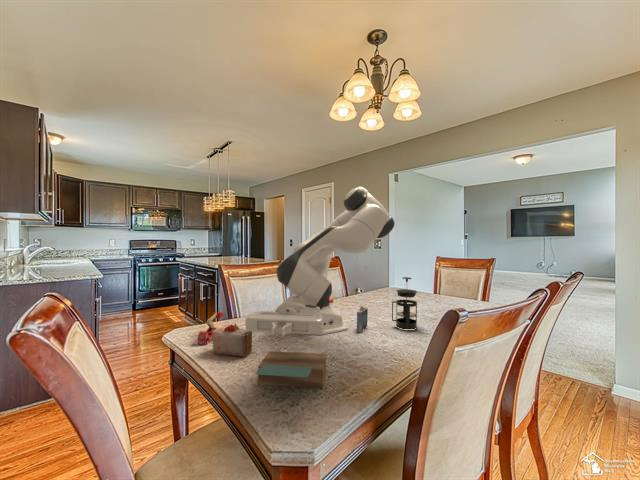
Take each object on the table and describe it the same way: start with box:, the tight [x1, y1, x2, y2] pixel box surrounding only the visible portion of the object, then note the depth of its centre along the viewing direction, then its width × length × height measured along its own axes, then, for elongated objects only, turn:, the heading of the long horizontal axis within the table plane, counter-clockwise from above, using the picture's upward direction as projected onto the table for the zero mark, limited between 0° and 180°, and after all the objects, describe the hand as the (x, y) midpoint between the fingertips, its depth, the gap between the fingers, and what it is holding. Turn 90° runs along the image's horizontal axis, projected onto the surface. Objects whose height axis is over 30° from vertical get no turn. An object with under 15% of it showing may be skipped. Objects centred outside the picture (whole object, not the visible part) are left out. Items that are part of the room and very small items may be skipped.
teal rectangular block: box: [256, 365, 311, 377], centre depth 75 cm, size 1×12×9 cm
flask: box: [356, 304, 369, 333], centre depth 131 cm, size 9×3×11 cm, turn 151°
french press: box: [391, 276, 418, 329], centre depth 134 cm, size 12×9×23 cm
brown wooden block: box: [257, 350, 327, 389], centre depth 86 cm, size 11×18×5 cm, turn 84°
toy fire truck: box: [197, 311, 225, 345], centre depth 117 cm, size 3×14×10 cm, turn 168°
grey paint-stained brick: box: [211, 323, 253, 358], centre depth 104 cm, size 14×8×10 cm, turn 76°
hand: (277, 332), depth 70 cm, fingers closed
